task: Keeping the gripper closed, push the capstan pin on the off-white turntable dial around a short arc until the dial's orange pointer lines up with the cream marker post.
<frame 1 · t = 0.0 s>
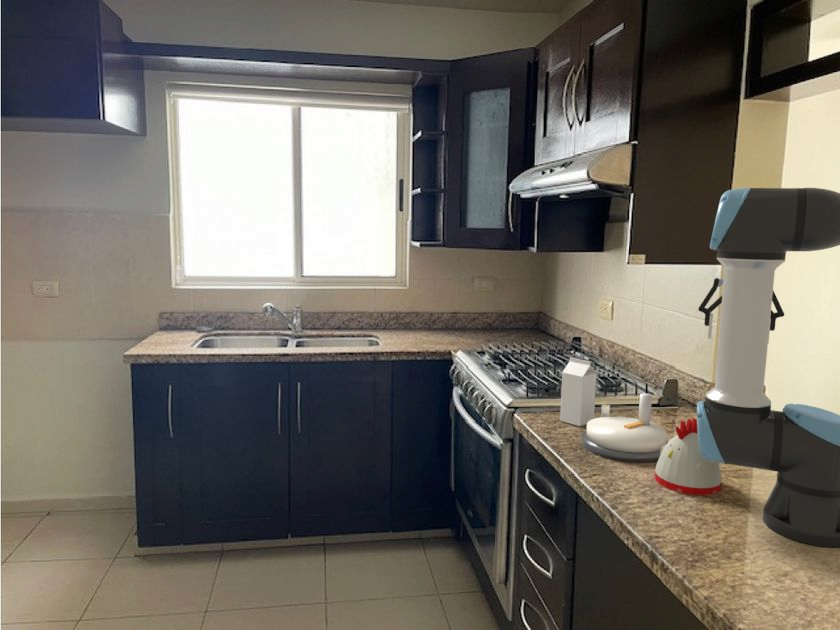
hand: (737, 340, 164), 28 cm above the worktop, tool pointing down, fingers open, 13 cm apart
milk carton: (576, 422, 183), on the worktop
kitchen timer: (687, 483, 140), on the worktop
dial: (626, 419, 161), point 8 cm above the worktop, hinge at -60.0°
dial base: (624, 447, 162), on the worktop
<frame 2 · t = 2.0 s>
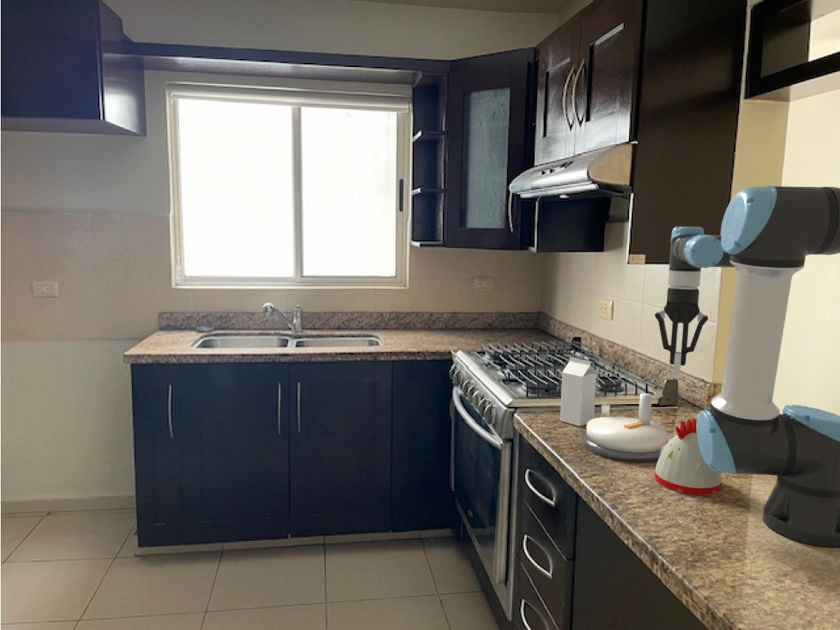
hand: (676, 376, 161), 19 cm above the worktop, tool pointing down, fingers closed
nothing on the worktop moved.
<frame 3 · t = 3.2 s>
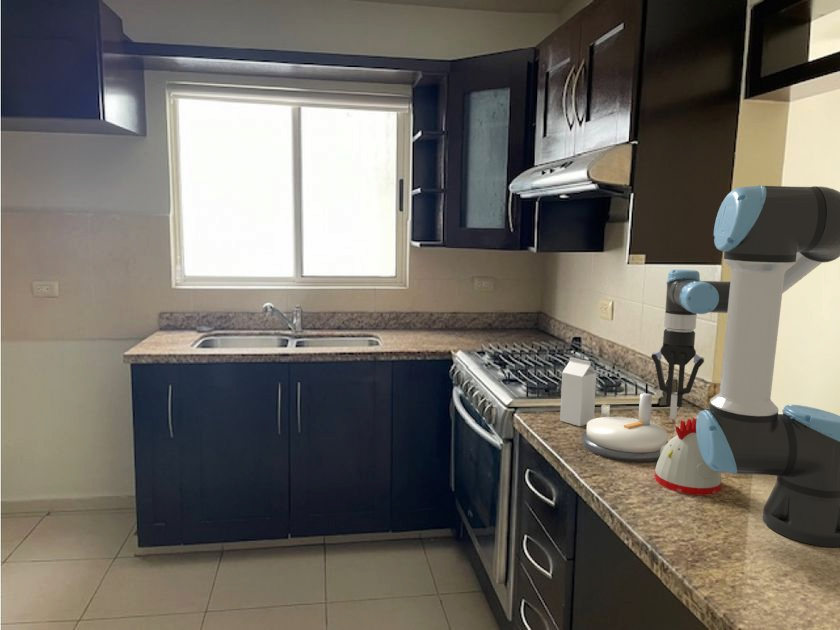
hand: (672, 417, 162), 8 cm above the worktop, tool pointing down, fingers closed
nothing on the worktop moved.
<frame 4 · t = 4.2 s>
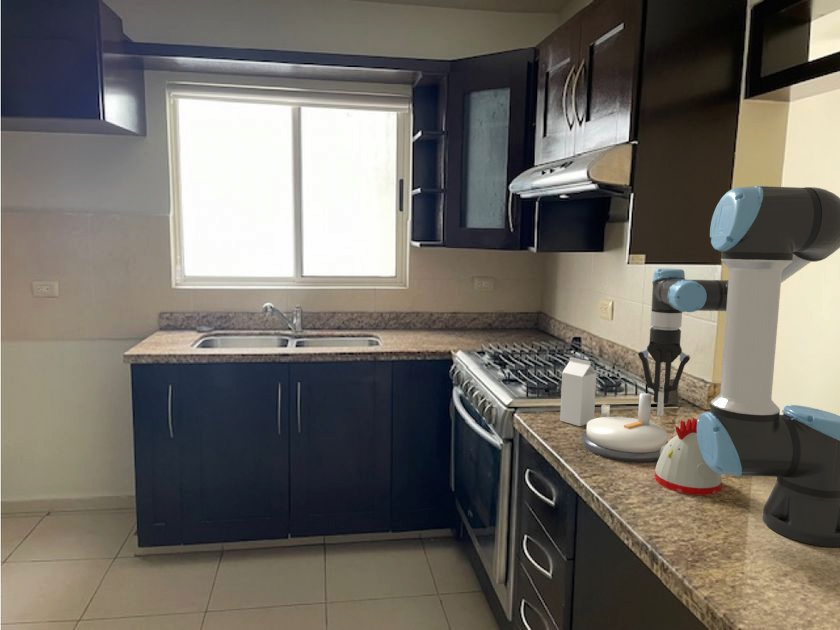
hand: (660, 414, 164), 8 cm above the worktop, tool pointing down, fingers closed
dial: (626, 419, 161), point 8 cm above the worktop, hinge at -58.6°, touching gripper
everything else where it was.
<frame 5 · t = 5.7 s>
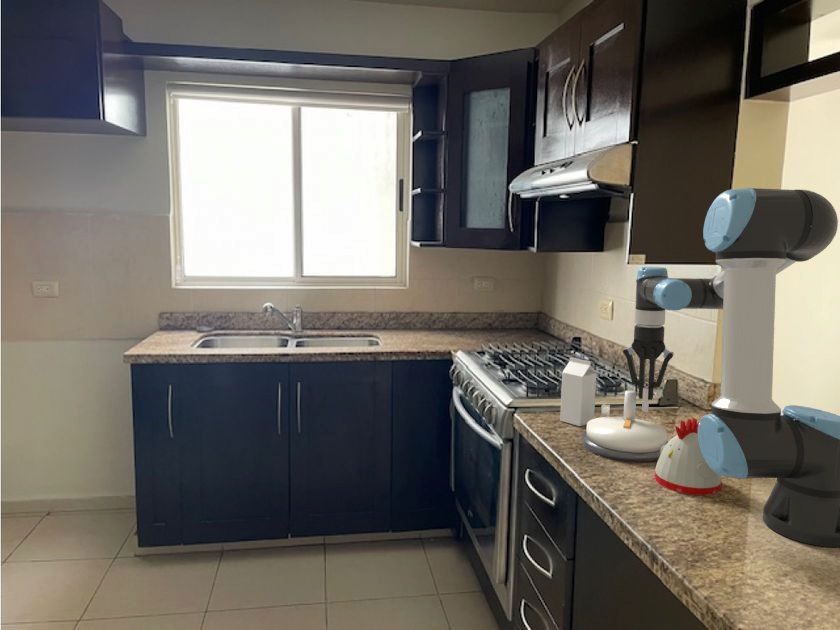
hand: (645, 410, 167), 8 cm above the worktop, tool pointing down, fingers closed
dial: (626, 419, 161), point 8 cm above the worktop, hinge at -27.7°, touching gripper
everything else where it was.
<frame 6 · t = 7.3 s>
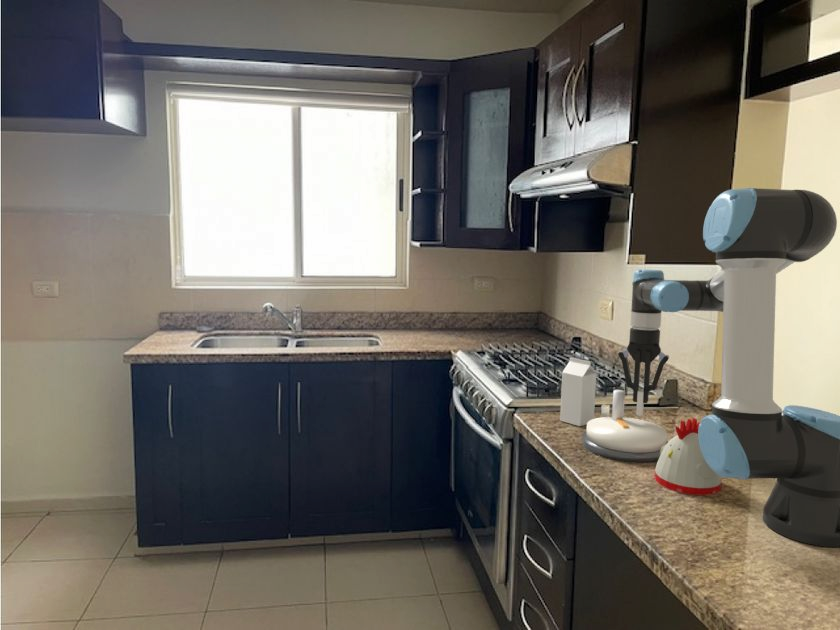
hand: (639, 413, 166), 8 cm above the worktop, tool pointing down, fingers closed
dial: (626, 419, 161), point 8 cm above the worktop, hinge at -4.6°
everything else where it was.
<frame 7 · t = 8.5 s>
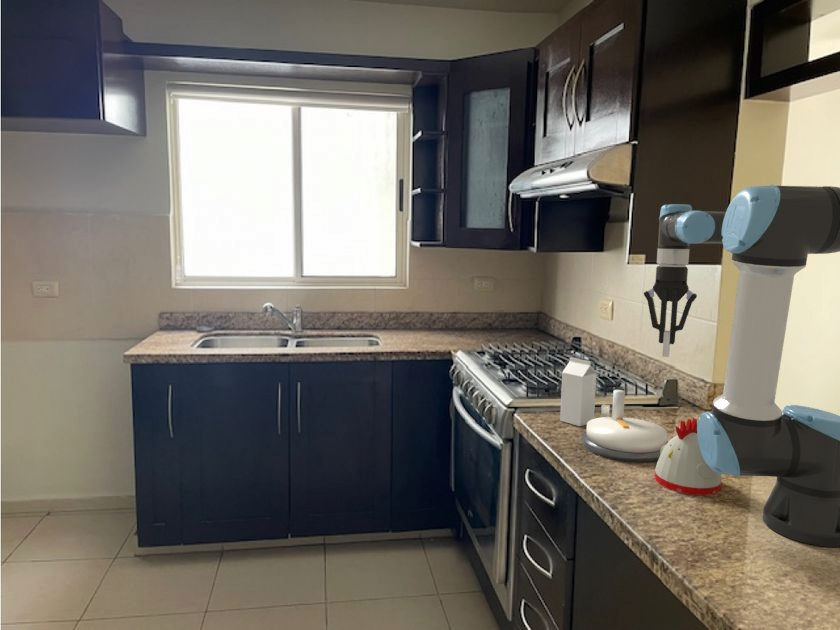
hand: (665, 355, 160), 24 cm above the worktop, tool pointing down, fingers closed
nothing on the worktop moved.
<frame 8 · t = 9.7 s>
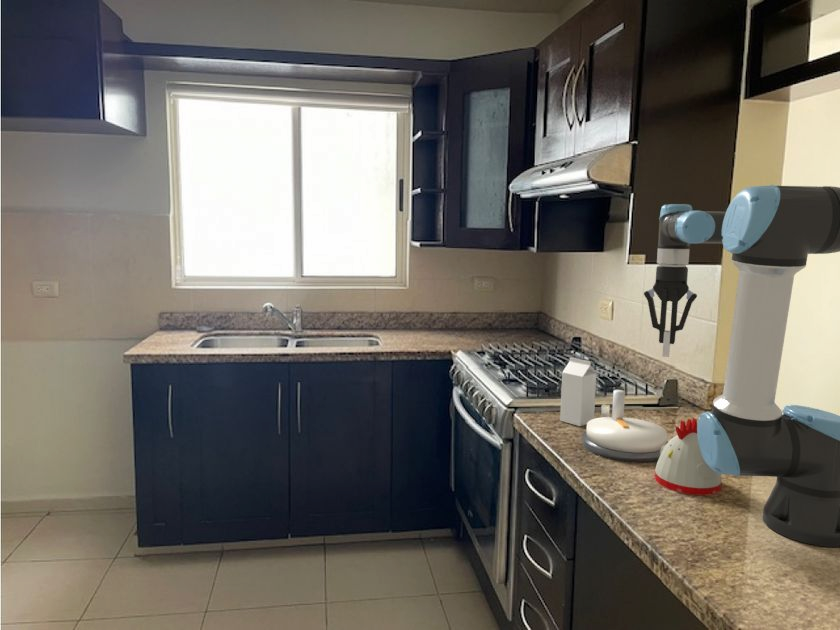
hand: (665, 355, 160), 24 cm above the worktop, tool pointing down, fingers closed
nothing on the worktop moved.
at the end: dial at -5° (first picture: -60°) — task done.
